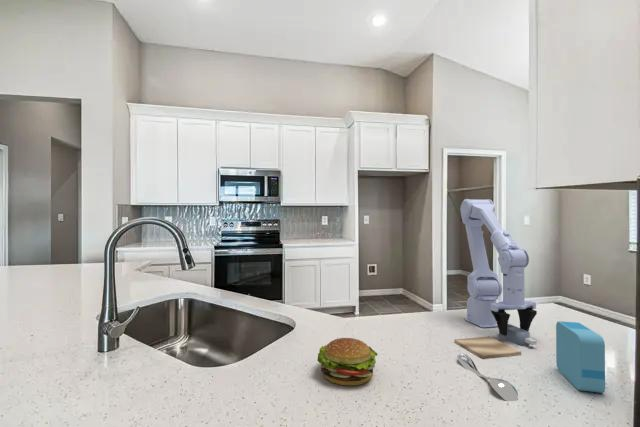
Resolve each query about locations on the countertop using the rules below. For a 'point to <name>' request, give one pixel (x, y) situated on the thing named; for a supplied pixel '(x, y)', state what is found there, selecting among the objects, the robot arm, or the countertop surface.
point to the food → (347, 361)
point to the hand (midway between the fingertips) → (513, 333)
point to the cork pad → (487, 347)
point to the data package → (580, 356)
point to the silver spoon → (492, 381)
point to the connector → (518, 336)
